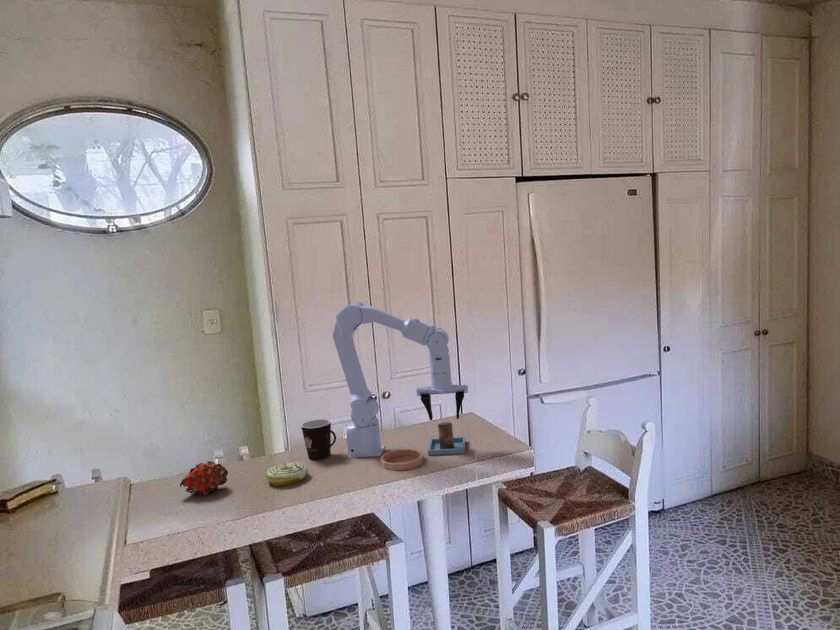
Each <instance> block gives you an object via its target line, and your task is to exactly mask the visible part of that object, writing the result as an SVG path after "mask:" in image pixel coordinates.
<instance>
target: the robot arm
mask: <svg viewBox="0 0 840 630" xmlns="http://www.w3.org/2000/svg"><path fill="white" fill-rule="evenodd" d="M420 320H421V319H419V318H417V317H415V318H414V319H413V318H409V319H407V320H404V319H402V318H399V317H397V316H395V315H392V314H391V313H388V312H386V311H384V310H381V309H380V308H378V307H375V306H373V305H370V304H364V303H362V302H359V301H355V302H352V303H350V304H345V305H344V306H343V307H342V308H341V309H340V310H339V312H338V313H337V314H336V316H335V325H334V329H333V332H332V339H333V342H334V346H335V349H336V352H337V354H338V357H339V361H340V364H341V368H342V371H343V374H344V377H345V381H346V384H347V388H348V390H349V393H350V400H349V401H350V402H349V403H350V407H351V410H350V411H351V412H350V418H351V421H352V422H353V423H349V424H347V427H346V443H347V452H348V453H347V454H348V458H349V459H350V458H362V457H363V458H365V457H367V458H368V457H380V456H382V453H383V452H384V448H385V445H382V442H381V433H380V431H381V430H380V423H379V419H378V417H377V414H378V412H379V408H380V407H379V403H378V401H377V400H376V399H375V398H374V396H373V394H372V392H371V390H370V389H369V388H368V385H367V383H366V379H365V377H364V376H365V375H364V373H363V372H364V371H363V369H362V366H361V364H360V360H359V356H358V354H357V350H356V347H355V343H354V341H353V335H354V334H355V332H356V330H357V329H358V327H359V326H360V325H365V324H371V323H377V324H380V325H382V326H385V327H388V328H391V329H393V330H397V331H399V332H401V334H402V337H403V338H404V339H407V340H410V341H412V342H415V343H416V344H419V345H422V346H426V347H427V349H428V350H429V368H430V369H429V370H430V371H429V372H430V381H431V386H429V385H428V386H422V387H417V388H416V391H415V392H416V396H417V397H420V401H421V403H422V404H423V406H424V408H425V410H426V412H427V414H428V418H429V421H433V417H434V416H433V411H432V410H433V409H432V400H431V399H432V398H431V397H432V396H433V395H445V394H446V395H448V394H454V395H455V396H454V397H455V407H456V408H455V409H456V413H455V414H456V416H455V417H456V420H459V419H460V413H461V412H460V411H461V407H462V403H463V402H464V401H463V400H464V398H465V394H468V393H469V389H468V388H469V387H468V384H453V383H452V382H453V381H452V372H451V370H452V369H451V361H450V360H451V359H450V354H449V346H448V344H449V340H450V339H449V334H448V333H447V331H446V330H445V329H442V328H441V327H437V328H436V326H434V325H428V324H425V323H423V322H421V321H420ZM431 395H432V396H431Z"/></svg>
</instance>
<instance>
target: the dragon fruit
mask: <svg viewBox="0 0 840 630" xmlns="http://www.w3.org/2000/svg"><path fill="white" fill-rule="evenodd" d="M228 474H229V471H228V470H227V468H226V467H224V466H223V465H222V464H221V463H215V462H213V461H211V460H207V461H206V463H201V462H200V463H197V464H196V465H195V467H192V468H191V469H190V470H189V473H188V474H186V475H185V477H184V478H183V479H182V480H181V482H180V483H179V486H180V488H181V487H182V486H183V487H184V488H185V487H187V488H185V491H186V493H189V494H195V492H196V493H197V494H203V495H205V496H207V494H209V493H210V492H216V491H218V490H219V486H223V485H224V484H227V481H228V478H227V477H228Z"/></svg>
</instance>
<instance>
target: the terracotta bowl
mask: <svg viewBox="0 0 840 630" xmlns="http://www.w3.org/2000/svg"><path fill="white" fill-rule="evenodd" d="M379 461H380V466H381V467H382V468H383V469H384V470H388V471H389V470H390V471H405V470H410V469H414V468H417V467H419V466H420V465H422V464H423V462H424V453H423V452H421V451H420V450H419V449H413V448H403V449H396V450H391V451H388V452H386V453H384V454H383V455H382V454H381V457H380V460H379Z"/></svg>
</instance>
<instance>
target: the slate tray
mask: <svg viewBox="0 0 840 630" xmlns="http://www.w3.org/2000/svg"><path fill="white" fill-rule="evenodd" d="M453 442H454V448H453V449H440V442H439V437H438V438H437V437H436V438H430V439H429V443H428V447H427V455H428V456H429V457H431V456H434V457H435V456H449V455H465V454H466V436H456V437H454V436H453Z"/></svg>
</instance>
